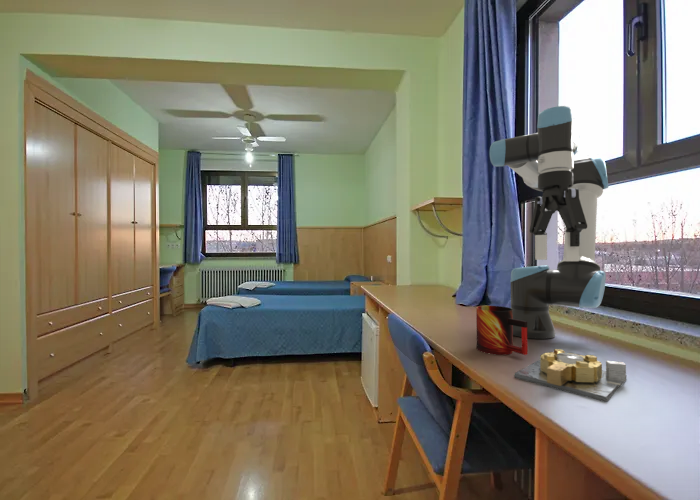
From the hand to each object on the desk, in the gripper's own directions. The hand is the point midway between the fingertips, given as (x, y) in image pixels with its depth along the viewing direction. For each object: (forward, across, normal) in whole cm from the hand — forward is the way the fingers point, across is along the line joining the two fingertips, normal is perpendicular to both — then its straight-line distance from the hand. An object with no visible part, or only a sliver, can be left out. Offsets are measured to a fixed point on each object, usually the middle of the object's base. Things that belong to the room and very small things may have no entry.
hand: (555, 260), depth 86 cm
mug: (+26, -13, -7) cm, 30 cm away
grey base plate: (+26, +8, -2) cm, 27 cm away
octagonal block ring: (+25, +10, -4) cm, 27 cm away
